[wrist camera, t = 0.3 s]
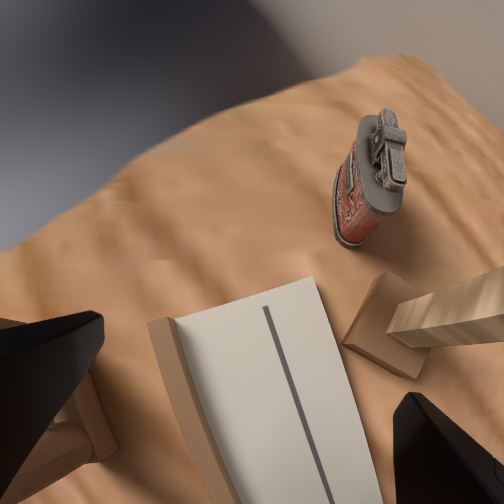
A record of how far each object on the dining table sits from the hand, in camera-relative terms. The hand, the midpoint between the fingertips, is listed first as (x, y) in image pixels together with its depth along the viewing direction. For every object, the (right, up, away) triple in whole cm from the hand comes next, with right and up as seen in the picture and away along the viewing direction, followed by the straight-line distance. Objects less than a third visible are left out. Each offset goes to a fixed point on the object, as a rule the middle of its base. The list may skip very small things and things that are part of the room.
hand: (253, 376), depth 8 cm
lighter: (+9, +7, +18) cm, 21 cm away
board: (+2, -12, +12) cm, 17 cm away
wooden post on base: (+11, -3, +15) cm, 19 cm away
